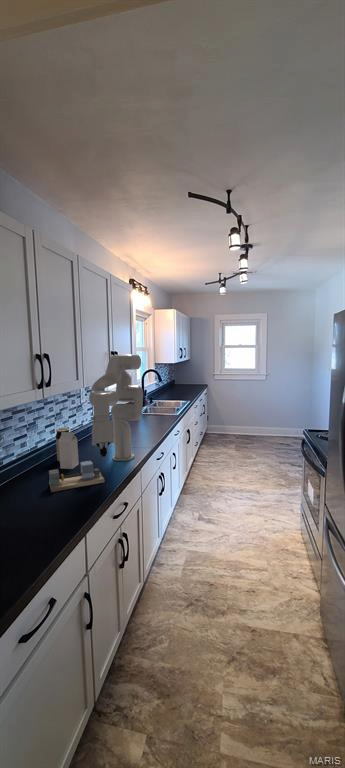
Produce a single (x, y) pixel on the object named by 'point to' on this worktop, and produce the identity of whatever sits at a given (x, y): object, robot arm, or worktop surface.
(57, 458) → the travel mug
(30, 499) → the worktop surface
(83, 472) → the sleeve
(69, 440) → the milk carton
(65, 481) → the slider mechanism
